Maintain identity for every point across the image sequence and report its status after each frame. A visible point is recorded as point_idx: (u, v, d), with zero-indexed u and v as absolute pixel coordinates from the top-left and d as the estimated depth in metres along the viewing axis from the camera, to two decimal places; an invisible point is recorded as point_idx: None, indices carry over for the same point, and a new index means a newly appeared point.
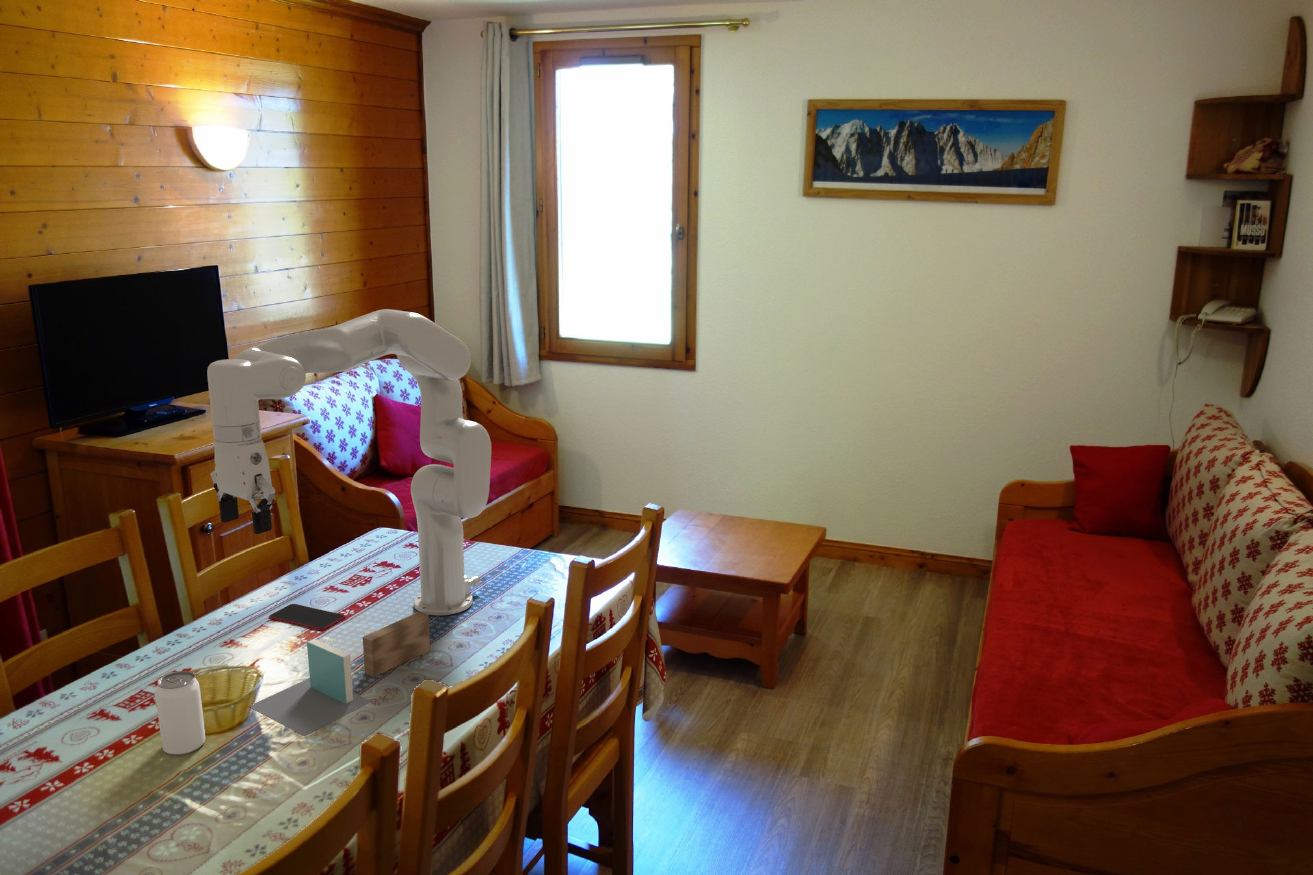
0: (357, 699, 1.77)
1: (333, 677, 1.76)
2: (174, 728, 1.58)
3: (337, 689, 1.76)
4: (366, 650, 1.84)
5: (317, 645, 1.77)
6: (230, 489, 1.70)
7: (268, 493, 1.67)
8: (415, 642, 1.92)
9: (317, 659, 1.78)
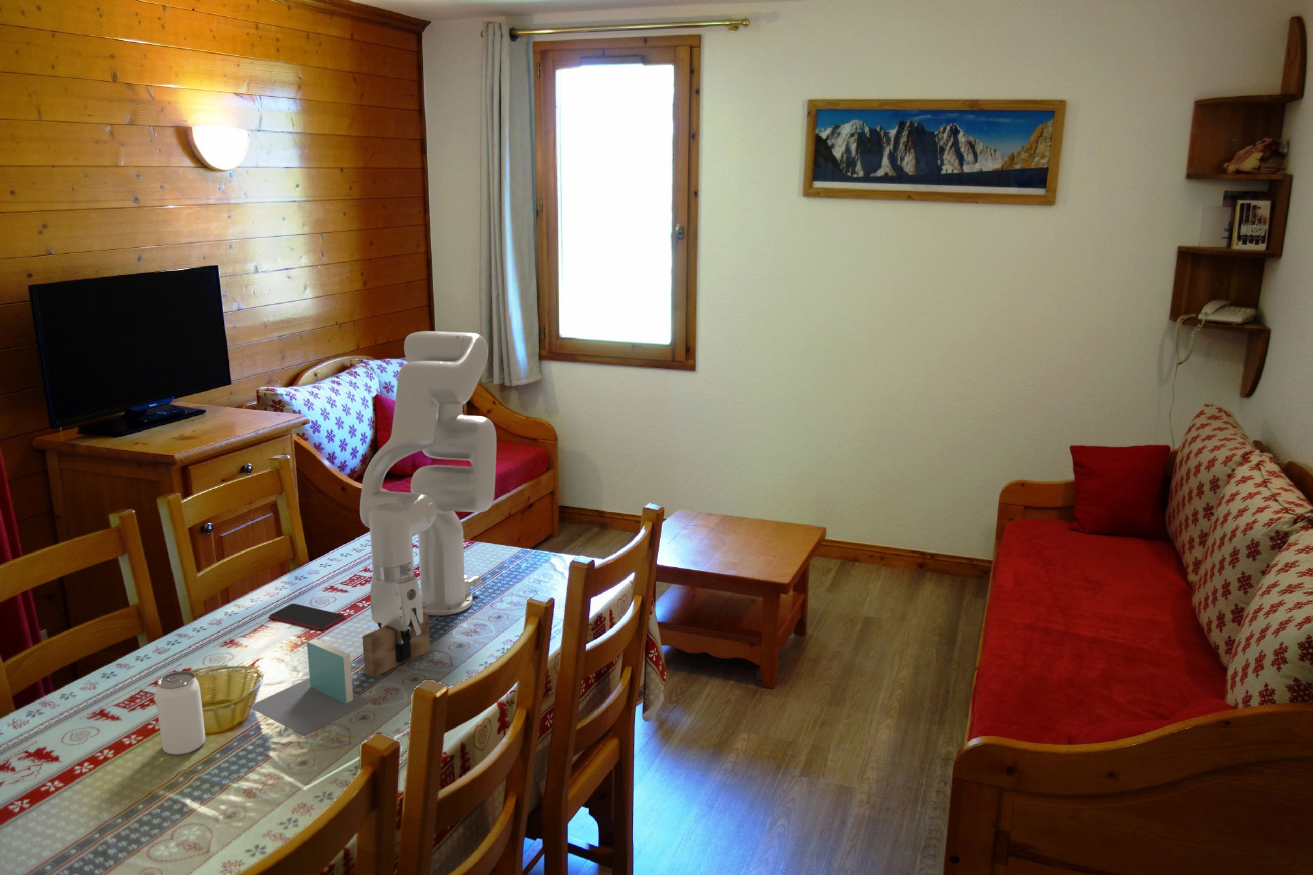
0: (357, 699, 1.77)
1: (333, 677, 1.76)
2: (174, 728, 1.58)
3: (337, 689, 1.76)
4: (366, 649, 1.84)
5: (317, 645, 1.77)
6: (386, 620, 1.87)
7: (415, 635, 1.86)
8: (414, 642, 1.92)
9: (317, 659, 1.78)
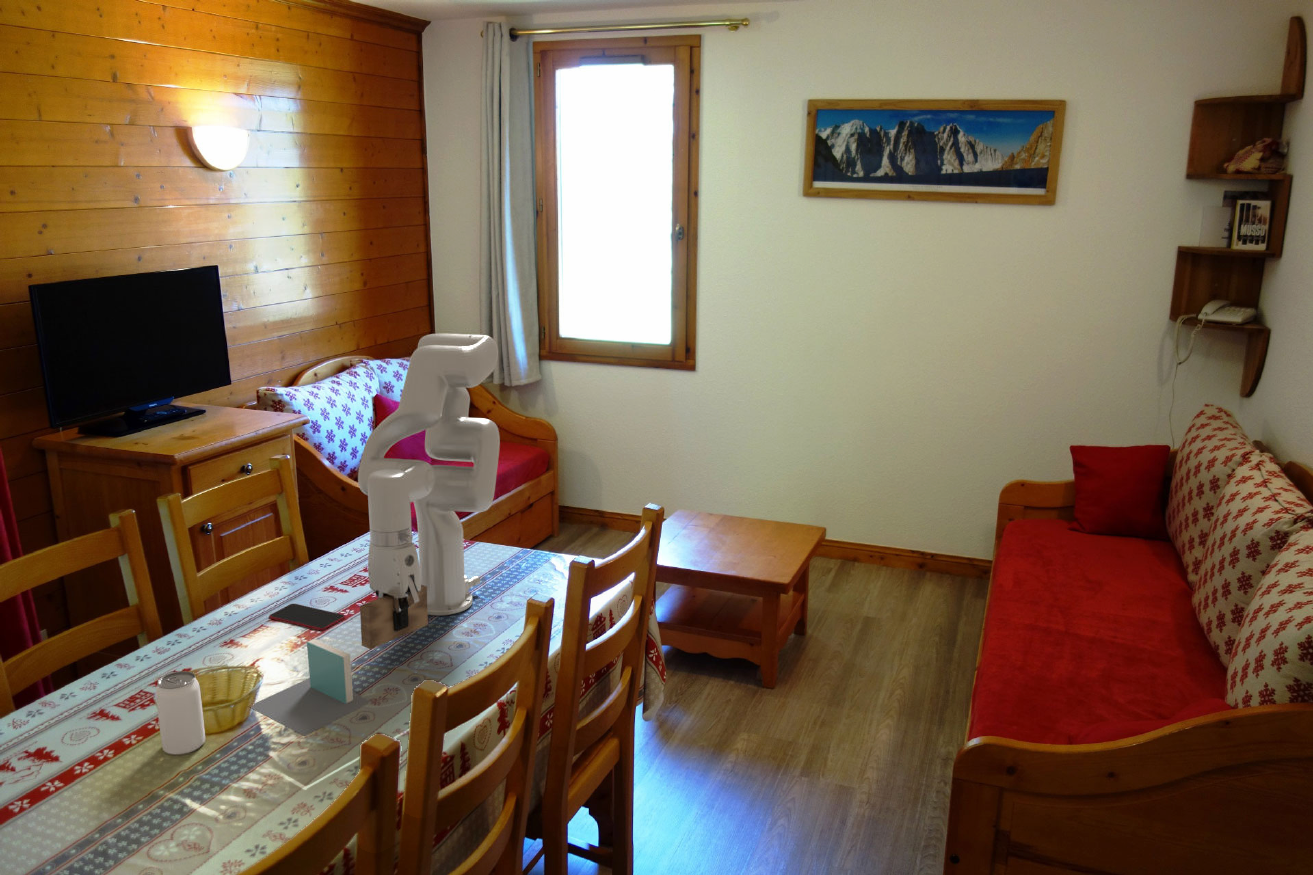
0: (357, 699, 1.77)
1: (333, 677, 1.76)
2: (174, 728, 1.58)
3: (337, 689, 1.76)
4: (363, 619, 1.82)
5: (317, 645, 1.77)
6: (383, 587, 1.85)
7: (413, 602, 1.84)
8: (412, 614, 1.90)
9: (317, 659, 1.78)
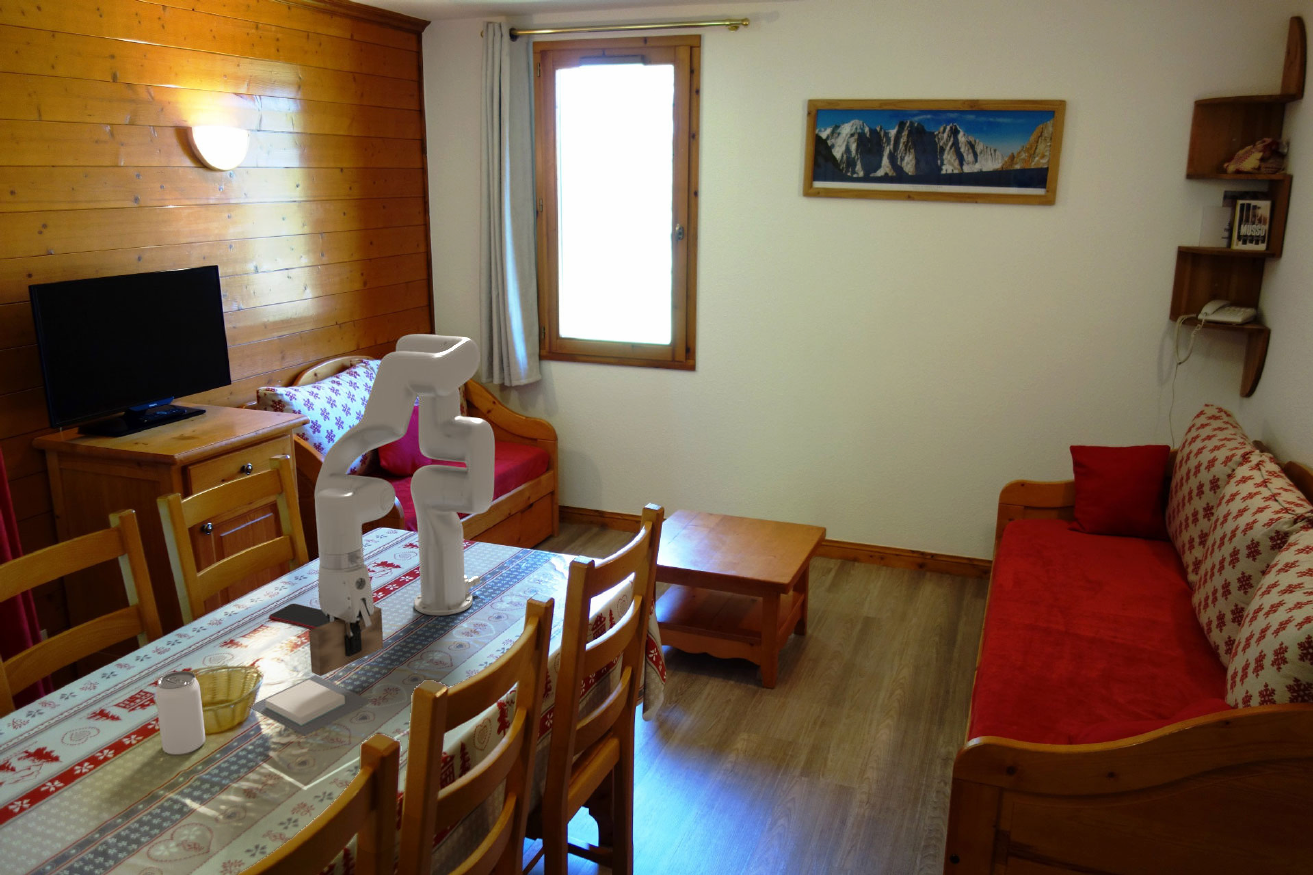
0: (357, 699, 1.77)
1: None
2: (174, 728, 1.58)
3: None
4: (313, 645, 1.74)
5: (275, 710, 1.72)
6: (334, 611, 1.77)
7: (364, 627, 1.75)
8: (366, 638, 1.82)
9: None
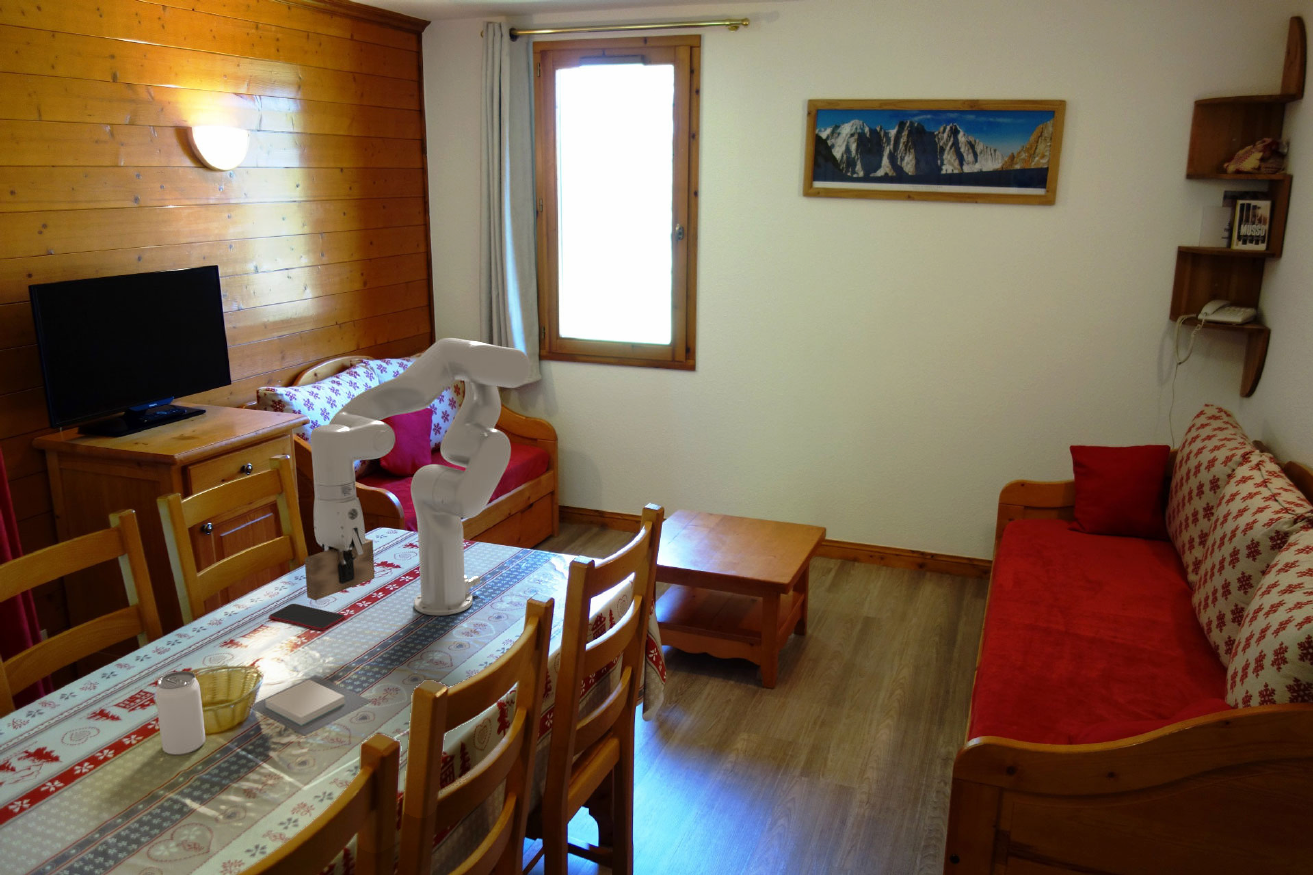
0: (357, 699, 1.77)
1: None
2: (174, 728, 1.58)
3: None
4: (308, 571, 1.87)
5: (275, 710, 1.72)
6: (328, 541, 1.89)
7: (356, 555, 1.88)
8: (358, 567, 1.94)
9: None
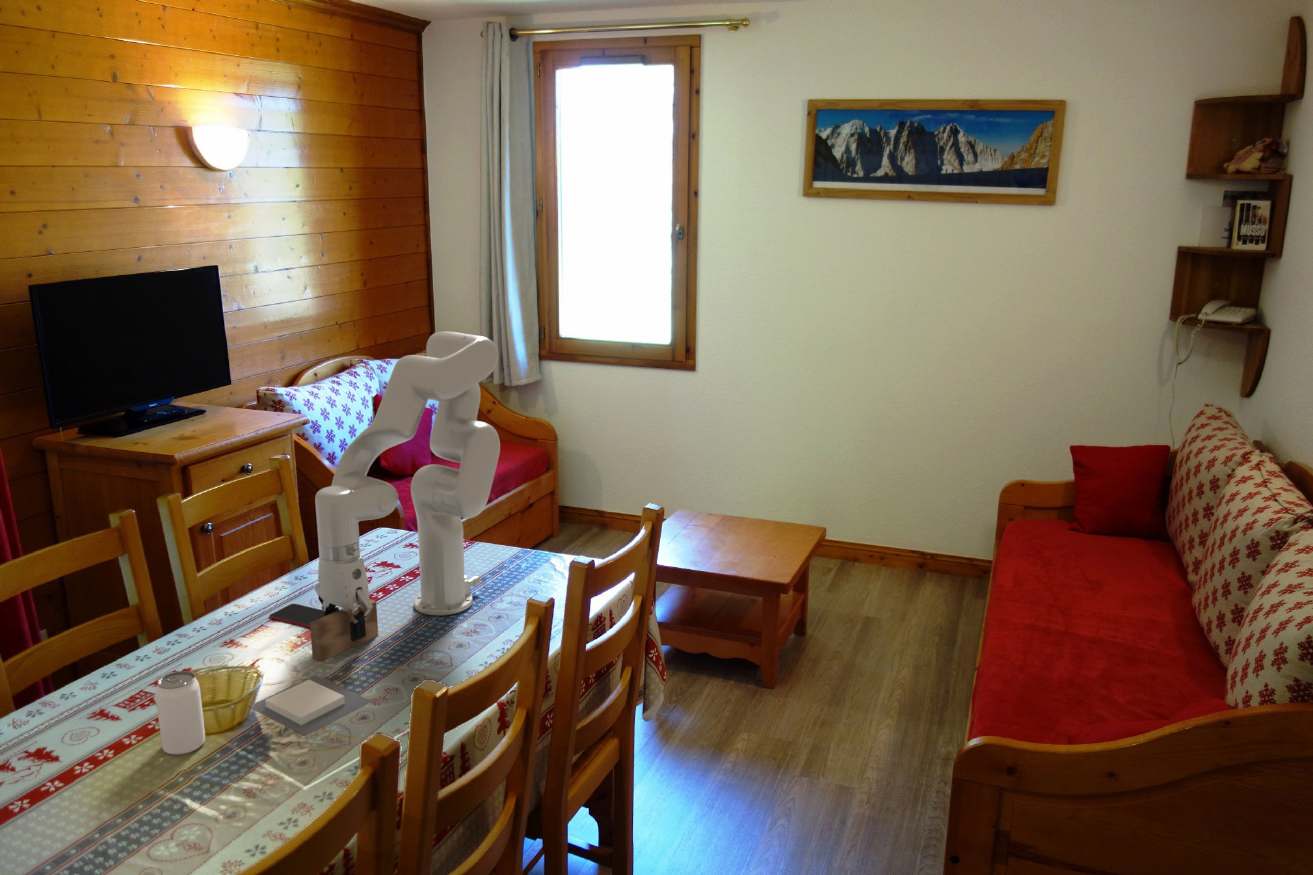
0: (357, 699, 1.77)
1: None
2: (174, 728, 1.58)
3: None
4: (313, 635, 1.90)
5: (275, 710, 1.72)
6: (333, 599, 1.92)
7: (366, 609, 1.89)
8: None
9: None
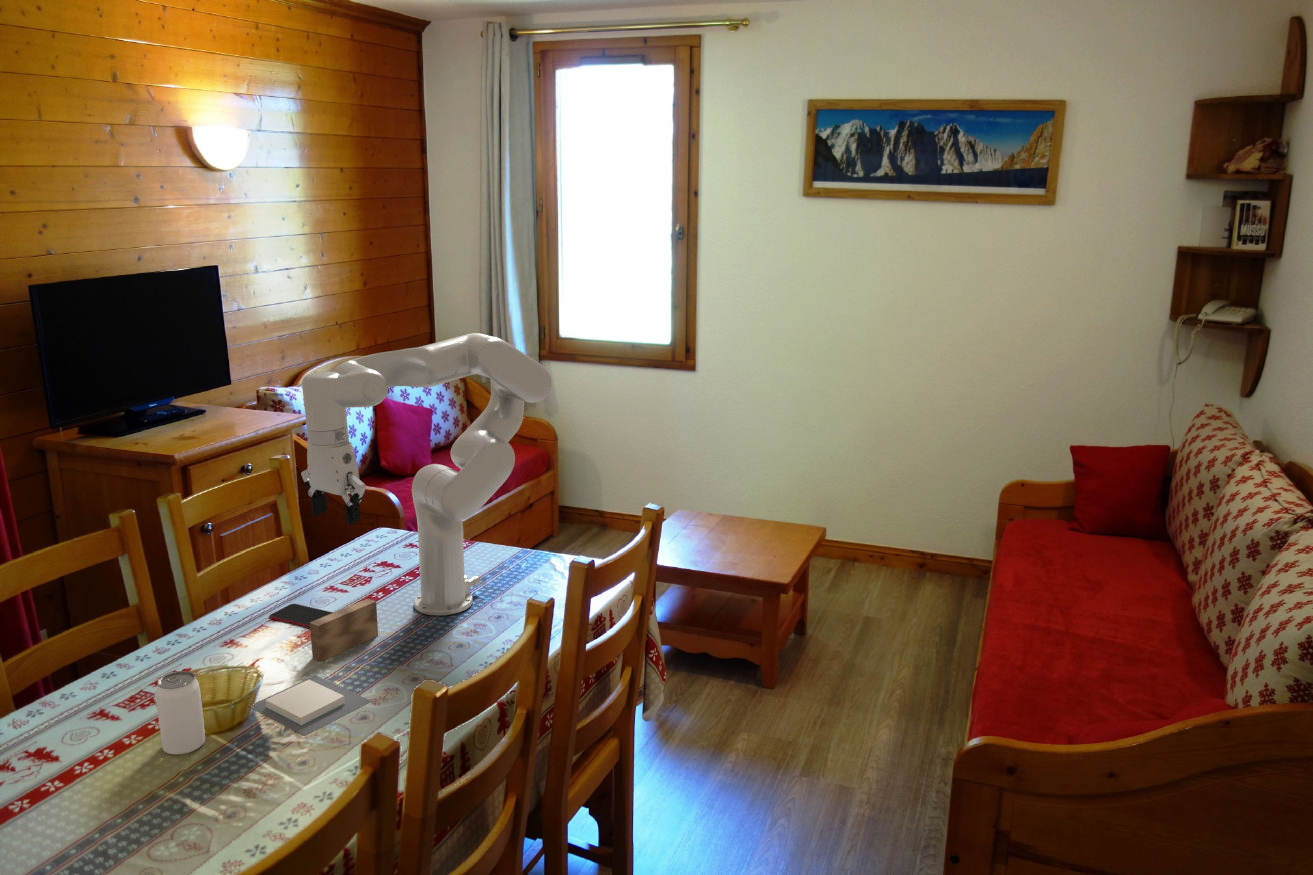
0: (357, 699, 1.77)
1: None
2: (174, 728, 1.58)
3: None
4: (313, 635, 1.90)
5: (275, 710, 1.72)
6: (323, 486, 1.93)
7: (360, 488, 1.90)
8: (362, 628, 1.98)
9: None
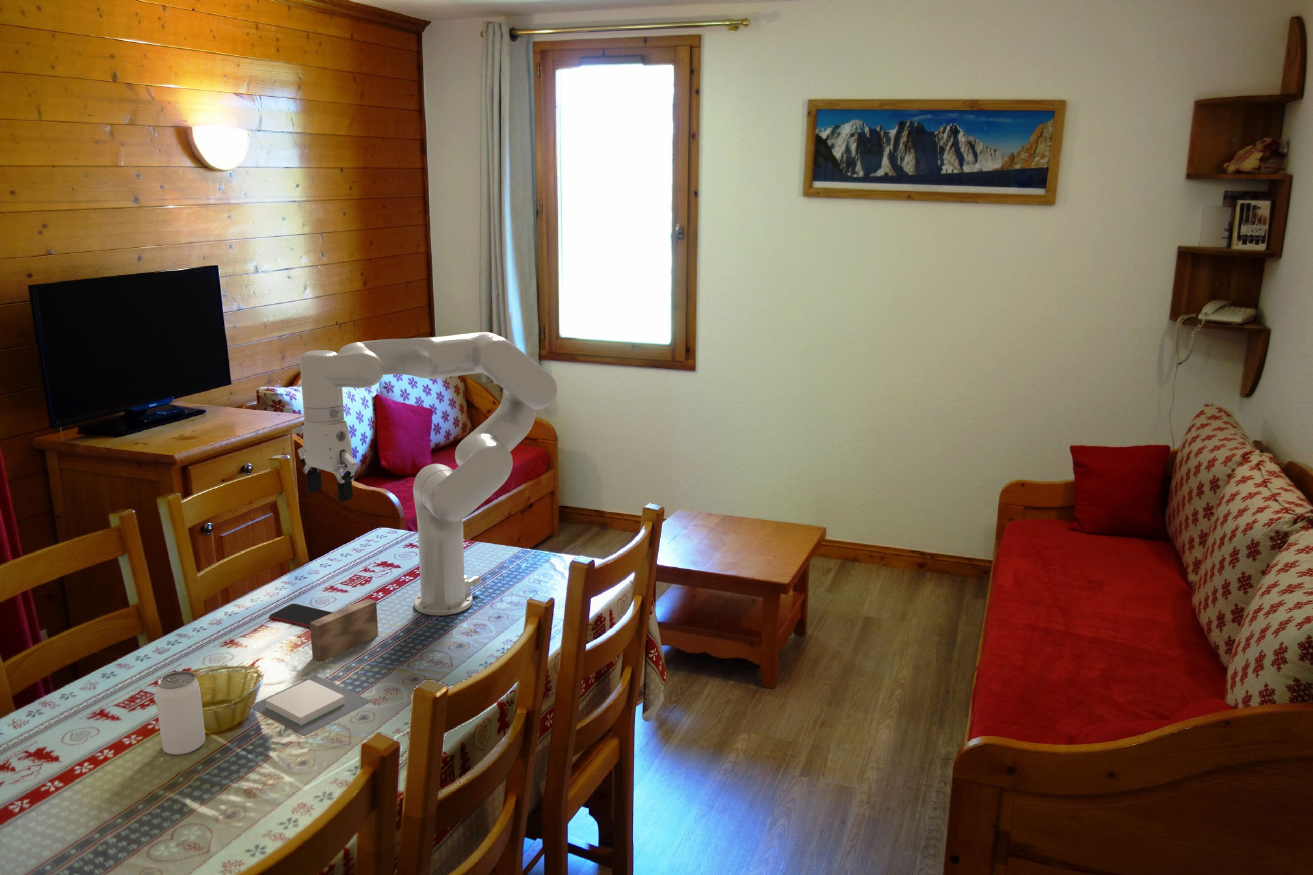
0: (357, 699, 1.77)
1: None
2: (174, 728, 1.58)
3: None
4: (313, 635, 1.90)
5: (275, 710, 1.72)
6: (317, 463, 1.96)
7: (352, 466, 1.93)
8: (362, 628, 1.98)
9: None
